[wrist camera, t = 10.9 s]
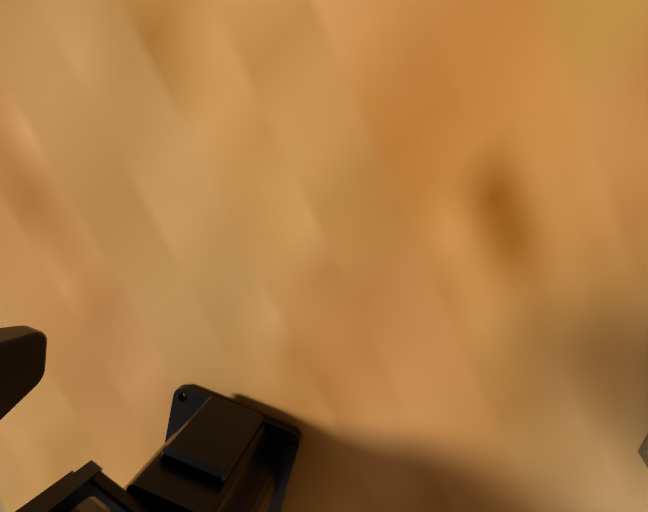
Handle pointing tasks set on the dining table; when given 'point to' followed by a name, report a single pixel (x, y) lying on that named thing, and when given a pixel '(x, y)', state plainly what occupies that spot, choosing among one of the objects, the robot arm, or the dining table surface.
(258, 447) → the robot arm
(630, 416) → the dining table surface
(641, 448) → the metal square socket base
